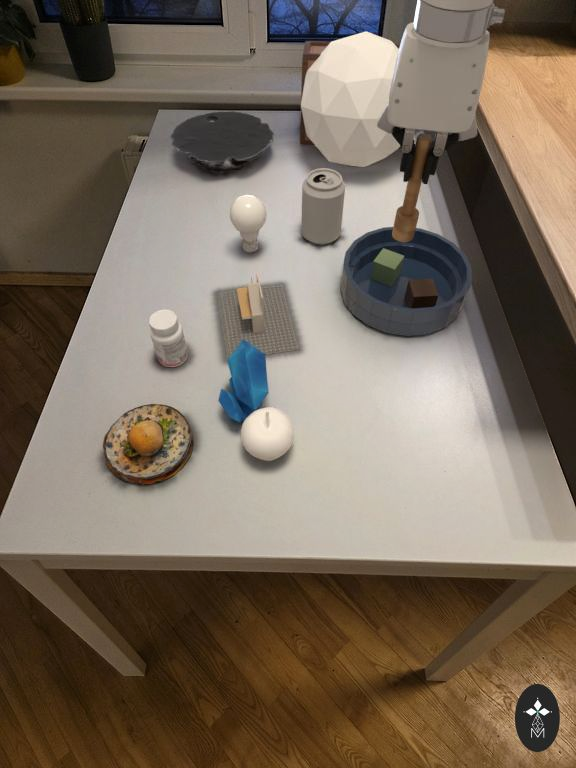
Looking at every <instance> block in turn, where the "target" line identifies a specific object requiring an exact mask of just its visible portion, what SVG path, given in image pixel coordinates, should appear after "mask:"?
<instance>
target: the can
mask: <svg viewBox="0 0 576 768" xmlns="http://www.w3.org/2000/svg"><path fill="white" fill-rule="evenodd" d="M345 195H346V184H345V182H344V180H343V176H342V174H341V173H340V172H339V171H337V170H335V169H333V168H329V167H328V168H326V167H321V168H320V167H319V168H315V169H312V170H311V171H309V172H308V173H307V175H306V178H305V179H304V180H303V182H302V186H301V222H300V223H301V224H300V225H301V226H300V227H301V228H300V232H301V235H302V236H303V237H304V238H305V239H306V240H308V241H309V242H311V243H313V244H315V245H327V244H330V243H332V242H334V241H336V240H337V239H339V237H340V236H341V235H342V234H341V232H342V224H343V216H344V215H343V214H344V204H345Z"/></svg>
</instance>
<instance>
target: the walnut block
mask: <svg viewBox="0 0 576 768" xmlns="http://www.w3.org/2000/svg"><path fill="white" fill-rule="evenodd" d="M404 298H405V301H406V305H407V308H412V309H415V308H427V307H434V306H435V305H436V302H437V299H438V293H437V290H436V287H435V284H434V281H433V279H412V280H409V281H408V285H407V289H406V293H405V297H404Z"/></svg>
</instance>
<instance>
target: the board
mask: <svg viewBox="0 0 576 768" xmlns="http://www.w3.org/2000/svg"><path fill="white" fill-rule="evenodd" d="M274 136H275V132H274V131H273V130H272V129H271V125H270V124H269V122H263V121H262V118H261V117H259V116H256V115H253V114H250V113H246V112H241V111H235V110H232V111H231V110H230V111H214V112H208V113H204V114H199V115H196V116H193V117H190V118H187V119H186V120H184V121H182V122H180V123H179V124H177V125H176V126H175V127H174V129H173V130H172V133H171V135H170V136H169V137H170V139H171V140H172V141H171V143H170V145H171V146H172V147H173V148H174V149H175V150H176V151H177V152H179V153H183V154H187V157H188V159H189V160H190V162H191V163H193V164H195V165H199V167H200V168H202V169H203V170H205V171H207V172H213V173H230V172H233V171H234V172H236V171H241V170H243V169H244V168H245V165H247V164H249V163H250V162H251V161H253V160H255V159H257V158H258V157H260V156H261V154H262V153H263V152H264V151H265V150H266V149H267V148H268V147H269V146H270V145H271V144H272V143H273V141H274V139H275V137H274Z"/></svg>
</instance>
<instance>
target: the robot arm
mask: <svg viewBox="0 0 576 768" xmlns="http://www.w3.org/2000/svg"><path fill="white" fill-rule="evenodd" d="M505 13H506V9H505V8H499V7H498V6H495V3H494V0H417V2H416V7H415V13H414V18H413V22H409V23H408V24H407V25H406V26H405V29H404V31H403V34H402V37H401V41H400V43H399V44H400V47H399V51H398V55H397V59H396V64H395V69H394V73H393V78H392V83H391V89H390V94H389V101H388V102H387V104H386V106H385V108H384V109H383V111H382V113H381V115H380V116H379V118H378V122H377V126H378V128H380V129H381V130H383V131H385V132H387V133H390V134H392V135H393V137H394V138H395V139H396V141H397V142H398V143H399V144H400V146H401V147H402V150H401V151H402V155H401V160H400V164H399V172H400V173H403V180H402V181H403V183H408V181H409V178H410V174H411V169H412V164H413V159H414V154H415V145H416V141H415V139H414V138H415V133H416V130H419V131H430V132H435V134H434V138H433V141H431V144H430V148H429V152H428V156H427V160H426V165H425V169H424V173H423V178H422V183H421V184H423V185H428V184H429V180H430V176H435V175H436V171H437V168H438V162H439V158H440V156H442V155H443V153H444V152H445V151H446V150H448V149H449V148H451V147H452V146H454V145H455V144H457V143H458V142H464V141H466V140H470V139H471V140H472V139H474V138H476V137H477V136H478V124H477V115H476V113H477V108H478V104H479V101H480V96H481V92H482V87H483V83H484V78H485V73H486V66H487V61H488V56H489V55H488V54H489V47H490V35H491V34H490V31H488V30H487V29H490V27H491V26H495V25H500V26H501V25H502V24H503V21H504V17H505Z"/></svg>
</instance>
